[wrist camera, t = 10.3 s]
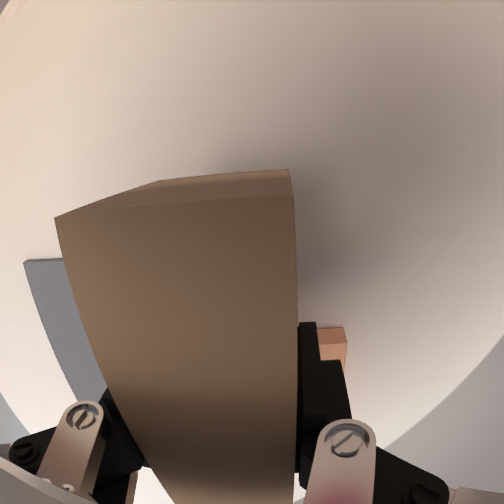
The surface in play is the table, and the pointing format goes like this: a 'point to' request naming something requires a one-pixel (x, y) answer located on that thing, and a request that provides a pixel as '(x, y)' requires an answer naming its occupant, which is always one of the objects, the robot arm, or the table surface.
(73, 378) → the mat
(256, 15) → the table surface
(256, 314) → the block
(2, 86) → the table surface
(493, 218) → the table surface
